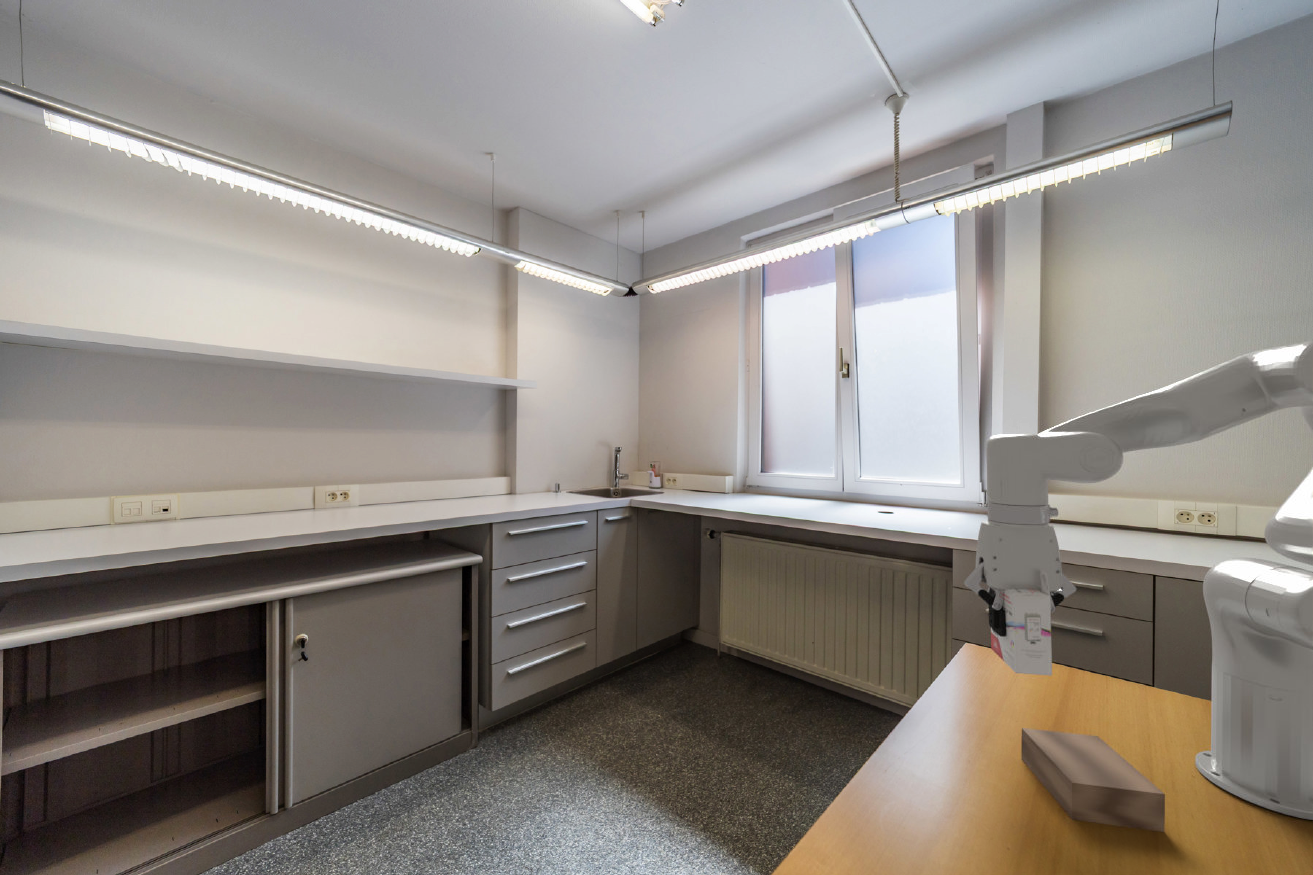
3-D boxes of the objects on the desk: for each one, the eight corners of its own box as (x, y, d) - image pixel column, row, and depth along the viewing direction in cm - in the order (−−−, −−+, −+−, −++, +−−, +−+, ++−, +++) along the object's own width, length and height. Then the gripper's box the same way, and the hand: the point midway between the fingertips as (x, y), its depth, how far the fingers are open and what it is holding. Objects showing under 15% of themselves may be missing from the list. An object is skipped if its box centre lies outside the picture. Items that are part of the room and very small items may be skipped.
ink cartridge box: (988, 649, 80) (987, 558, 80) (1023, 651, 78) (1022, 559, 79) (1014, 673, 71) (1012, 572, 71) (1054, 677, 70) (1052, 573, 70)
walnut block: (1097, 769, 72) (1097, 736, 72) (1164, 834, 61) (1164, 794, 61) (1021, 760, 74) (1021, 727, 74) (1071, 821, 63) (1072, 782, 63)
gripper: (1066, 512, 77) (1068, 628, 77) (946, 510, 80) (948, 622, 80) (1098, 519, 70) (1101, 648, 69) (965, 517, 73) (968, 640, 73)
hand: (1019, 633), depth 75 cm, fingers closed on ink cartridge box, 5 cm apart
